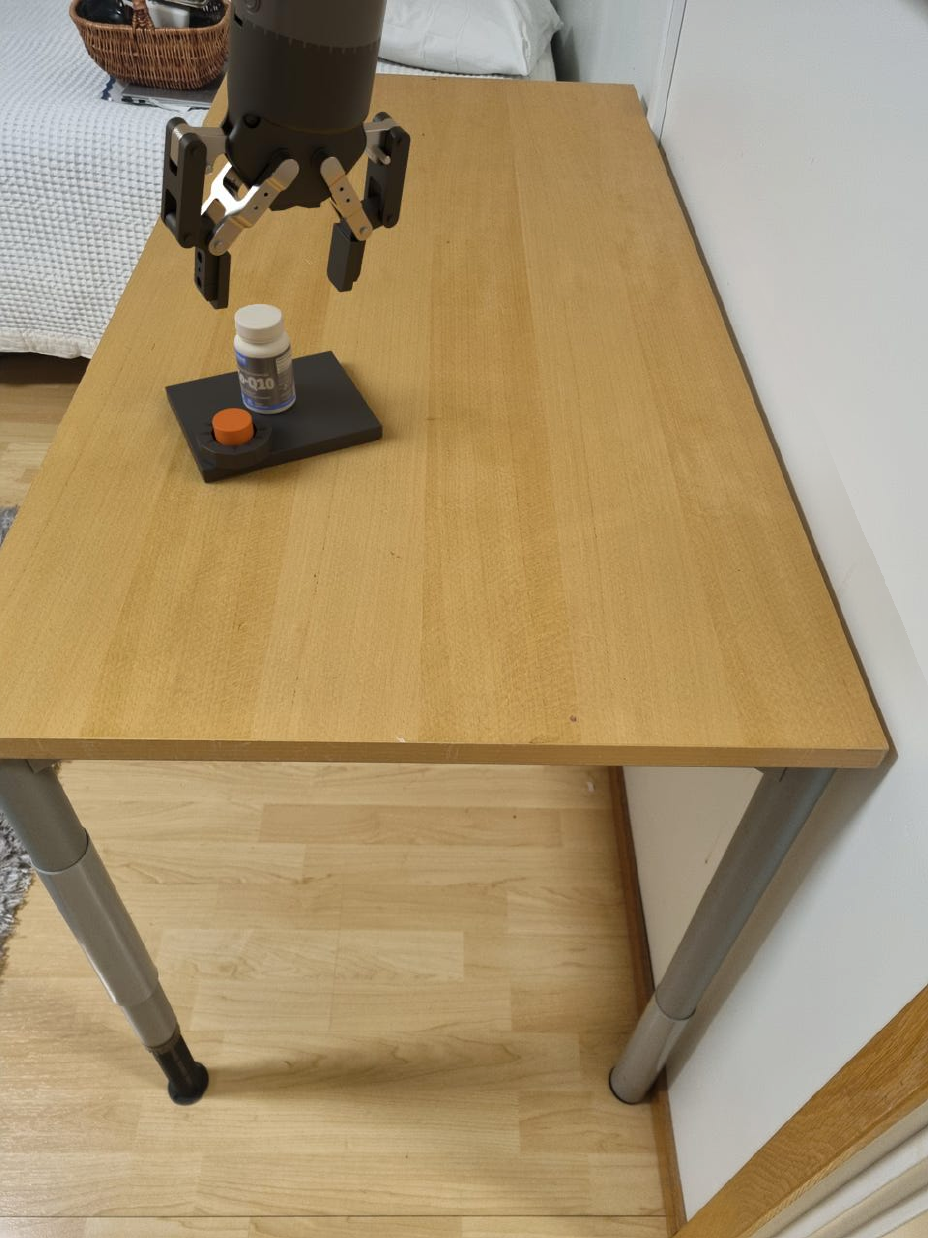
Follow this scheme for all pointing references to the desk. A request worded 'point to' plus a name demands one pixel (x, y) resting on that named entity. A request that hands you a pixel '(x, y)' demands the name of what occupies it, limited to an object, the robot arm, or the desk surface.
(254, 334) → the pill bottle
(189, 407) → the black flat block
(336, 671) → the desk surface
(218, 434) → the button
